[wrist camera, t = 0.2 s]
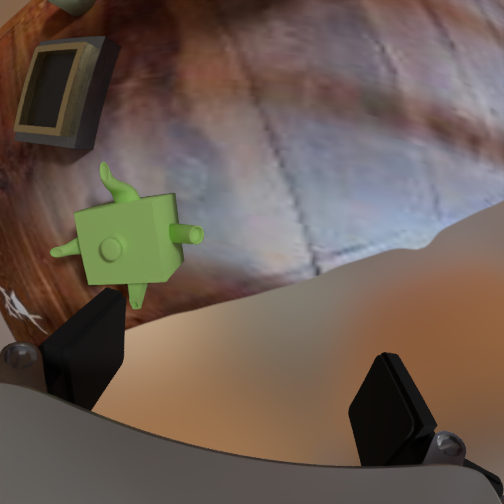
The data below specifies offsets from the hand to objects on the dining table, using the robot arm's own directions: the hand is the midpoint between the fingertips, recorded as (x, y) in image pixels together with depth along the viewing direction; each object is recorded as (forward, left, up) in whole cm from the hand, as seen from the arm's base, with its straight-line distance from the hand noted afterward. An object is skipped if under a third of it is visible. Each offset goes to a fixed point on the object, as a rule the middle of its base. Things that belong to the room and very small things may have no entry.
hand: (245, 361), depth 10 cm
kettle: (+5, -16, -31) cm, 35 cm away
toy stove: (-12, -33, -31) cm, 47 cm away
